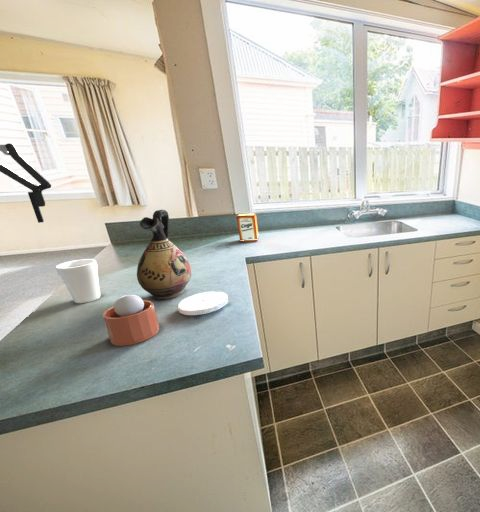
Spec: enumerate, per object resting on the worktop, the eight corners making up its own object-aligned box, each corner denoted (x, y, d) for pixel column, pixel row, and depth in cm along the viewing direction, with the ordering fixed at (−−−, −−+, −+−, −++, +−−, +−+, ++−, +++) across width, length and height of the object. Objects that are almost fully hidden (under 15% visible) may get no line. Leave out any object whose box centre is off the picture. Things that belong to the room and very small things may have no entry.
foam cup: (103, 301, 100) (92, 265, 96) (65, 308, 95) (51, 270, 91) (108, 291, 108) (98, 257, 104) (72, 297, 103) (60, 261, 99)
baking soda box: (240, 242, 173) (236, 215, 168) (242, 239, 179) (238, 213, 174) (257, 241, 176) (254, 214, 171) (259, 238, 182) (255, 212, 177)
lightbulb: (145, 323, 86) (136, 289, 82) (153, 330, 82) (144, 294, 79) (119, 333, 81) (108, 296, 78) (126, 340, 78) (115, 303, 74)
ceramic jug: (183, 302, 100) (164, 215, 91) (132, 305, 98) (108, 215, 89) (203, 282, 116) (189, 206, 107) (160, 284, 114) (142, 207, 105)
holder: (100, 346, 77) (91, 318, 74) (131, 324, 86) (124, 300, 84) (141, 345, 77) (133, 318, 74) (167, 324, 87) (162, 300, 84)
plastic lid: (235, 307, 98) (234, 300, 97) (187, 323, 88) (185, 315, 87) (219, 294, 107) (217, 288, 106) (173, 307, 97) (172, 300, 96)
